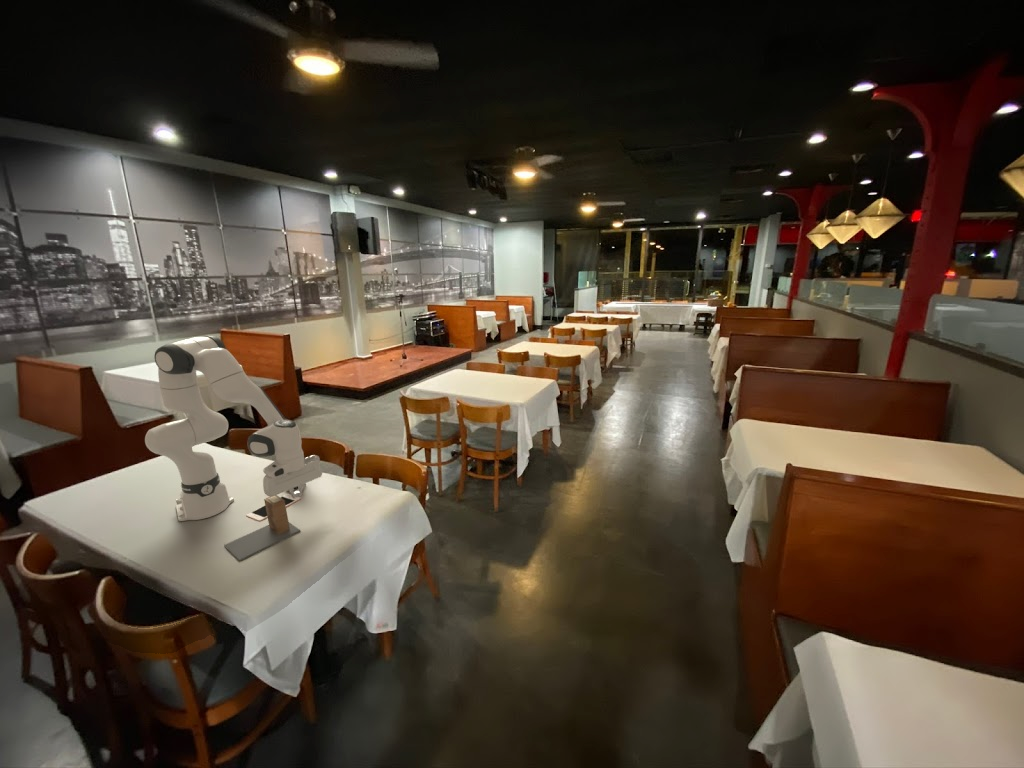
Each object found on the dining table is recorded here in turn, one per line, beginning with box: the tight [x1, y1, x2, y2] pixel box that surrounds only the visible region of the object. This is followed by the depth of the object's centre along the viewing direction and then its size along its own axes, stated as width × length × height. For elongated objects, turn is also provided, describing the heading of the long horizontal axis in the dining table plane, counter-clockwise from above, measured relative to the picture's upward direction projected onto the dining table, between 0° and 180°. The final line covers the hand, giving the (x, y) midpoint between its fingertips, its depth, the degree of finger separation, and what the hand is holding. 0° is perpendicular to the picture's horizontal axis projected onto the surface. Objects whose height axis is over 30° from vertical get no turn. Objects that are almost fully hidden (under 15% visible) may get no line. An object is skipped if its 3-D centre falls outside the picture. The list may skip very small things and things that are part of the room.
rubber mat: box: [223, 522, 301, 562], centre depth 147 cm, size 13×20×1 cm, turn 143°
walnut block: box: [263, 494, 290, 535], centre depth 150 cm, size 7×4×12 cm, turn 53°
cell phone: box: [245, 493, 302, 522], centre depth 167 cm, size 9×18×1 cm, turn 154°
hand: (297, 496), depth 155 cm, fingers closed
